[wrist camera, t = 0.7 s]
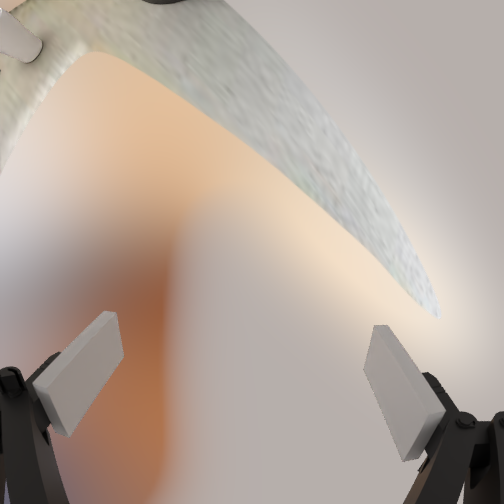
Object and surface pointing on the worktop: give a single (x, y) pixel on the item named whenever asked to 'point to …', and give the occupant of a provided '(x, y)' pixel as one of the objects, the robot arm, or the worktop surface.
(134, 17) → the worktop surface
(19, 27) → the drinking glass
